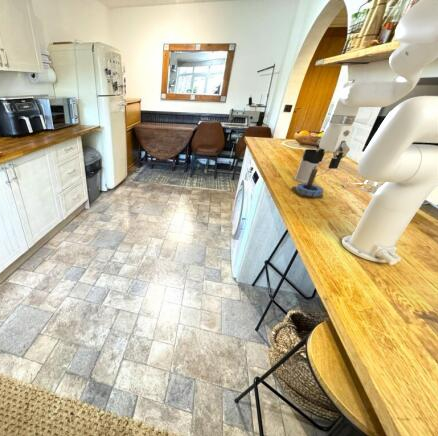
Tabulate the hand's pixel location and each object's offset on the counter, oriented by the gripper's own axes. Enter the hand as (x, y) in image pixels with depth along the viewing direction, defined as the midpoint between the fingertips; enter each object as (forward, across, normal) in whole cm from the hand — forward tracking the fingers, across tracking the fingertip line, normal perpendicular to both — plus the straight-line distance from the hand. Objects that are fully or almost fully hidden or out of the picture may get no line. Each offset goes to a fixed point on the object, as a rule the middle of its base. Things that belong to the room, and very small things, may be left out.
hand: (324, 164), depth 98 cm
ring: (+13, +4, 0) cm, 14 cm away
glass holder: (+15, +20, -10) cm, 27 cm away
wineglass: (+12, +13, -23) cm, 29 cm away
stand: (+15, +5, 0) cm, 16 cm away
